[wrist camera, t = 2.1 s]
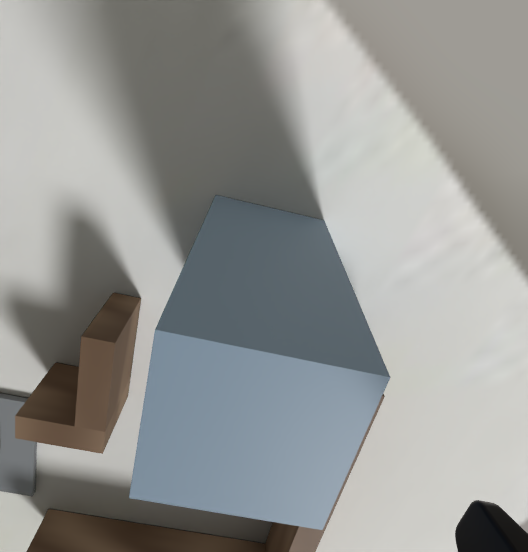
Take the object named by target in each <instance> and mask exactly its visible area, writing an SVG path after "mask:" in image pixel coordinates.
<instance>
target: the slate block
mask: <svg viewBox="0 0 528 552" xmlns="http://www.w3.org/2000/svg"><path fill="white" fill-rule="evenodd" d="M389 379H390V376H389V373H388V371H387V369H386V366H385V364H384V362H383V359H382V357H381V354H380V352H379V350H378V347H377V345H376V343H375V340H374V338H373V335H372V333H371V331H370V328H369V326H368V323H367V321H366V319H365V316H364V314H363V312H362V309H361V307H360V304H359V302H358V300H357V297H356V295H355V293H354V290H353V288H352V285H351V283H350V281H349V278H348V276H347V274H346V271H345V269H344V266H343V264H342V262H341V259H340V257H339V255H338V252H337V250H336V247H335V245H334V243H333V240H332V238H331V236H330V233H329V231H328V228H327V226H326V224H325V221H324V220H321V219H316V218H312V217H308V216H304V215H299V214H295V213H291V212H287V211H282V210H278V209H274V208H270V207H265V206H261V205H257V204H253V203H248V202H244V201H240V200H235V199H231V198H227V197H223V196H218V195H216V196H215V198H214V200H213V202H212V205H211V207H210V209H209V211H208V213H207V216H206V218H205V220H204V222H203V225H202V227H201V229H200V231H199V233H198V236H197V238H196V240H195V242H194V245H193V247H192V249H191V251H190V253H189V256H188V258H187V260H186V262H185V265H184V267H183V269H182V271H181V273H180V276H179V278H178V280H177V282H176V285H175V287H174V289H173V291H172V293H171V296H170V298H169V300H168V302H167V305H166V307H165V309H164V311H163V313H162V316H161V318H160V320H159V322H158V325H157V327H156V329H155V334H154V341H153V347H152V353H151V360H150V366H149V373H148V379H147V386H146V392H145V398H144V405H143V411H142V418H141V424H140V430H139V437H138V443H137V450H136V456H135V463H134V469H133V475H132V482H131V488H130V495H129V498H132V499H138V500H144V501H150V502H156V503H162V504H168V505H174V506H180V507H186V508H192V509H198V510H204V511H210V512H216V513H222V514H228V515H234V516H240V517H246V518H252V519H258V520H264V521H270V522H276V523H282V524H288V525H294V526H300V527H306V528H312V529H318V530H323V528H324V526H325V523H326V521H327V519H328V517H329V514H330V512H331V510H332V507H333V505H334V503H335V501H336V498H337V496H338V494H339V492H340V489H341V487H342V485H343V483H344V480H345V478H346V476H347V474H348V471H349V469H350V467H351V465H352V462H353V460H354V458H355V456H356V453H357V451H358V449H359V447H360V444H361V442H362V440H363V438H364V435H365V433H366V431H367V429H368V426H369V424H370V422H371V420H372V417H373V415H374V413H375V411H376V408H377V406H378V404H379V402H380V399H381V397H382V395H383V392H384V390H385V388H386V386H387V383H388V381H389Z"/></svg>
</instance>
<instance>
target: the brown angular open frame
mask: <svg viewBox="0 0 528 552" xmlns="http://www.w3.org/2000/svg"><path fill="white" fill-rule="evenodd" d="M140 303H141V298H137V297H132V296H127V295H123V294H118V293H113V294H112V295H111V296H110V298H109V299H108V300H107V302H106V303H105V305H104V306H103V307H102V309H101V310H100V311H99V313H98V314H97V315H96V317H95V318H94V320H93V321H92V322H91V324H90V325H89V326H88V328H87V329H86V331H85V332H84V333H83V335H82V336H81V346H80V360H79V367H76V366H71V365H65V364H60V363H55V364H54V365H53V366H52V368H51V369H50V370H49V371H48V373H47V374H46V375H45V377H44V378H43V379H42V381H41V382H40V383H39V385H38V386H37V387H36V389H35V390H34V391H33V393H32V394H31V395H30V397H29V398H28V399H27V401H26V402H25V403H24V405H23V406H22V407H21V409H20V410H19V411H18V412H17V414H16V415H15V438H16V439H22V440H28V441H33V442H39V443H45V444H51V445H56V446H62V447H68V448H74V449H79V450H85V451H91V452H96V453H102V454H103V452H104V449H105V447H106V445H107V443H108V440H109V438H110V436H111V433H112V431H113V429H114V427H115V424H116V422H117V420H118V418H119V415H120V413H121V411H122V409H123V406H124V404H125V402H126V400H127V397H128V391H129V384H130V377H131V369H132V362H133V354H134V347H135V340H136V332H137V325H138V318H139V310H140ZM383 399H384V394H383V395H382V397H381V399H380V402H379V404H378V406H377V408H376V411H375V413H374V415H373V417H372V420H371V422H370V424H369V426H368V429H367V431H366V433H365V435H364V438H363V440H362V442H361V444H360V447H359V449H358V451H357V453H356V456H355V458H354V460H353V462H352V465H351V467H350V469H349V471H348V474H347V476H346V478H345V480H344V483H343V485H342V487H341V489H340V492H339V494H338V496H337V498H336V501H335V503H334V505H333V507H332V510H331V512H330V514H329V517H328V519H327V521H326V523H325V526H324V528H323V530H318V529H312V528H306V527H300V526H294V525H288V524H282V523H276V522H273V523H272V526H271V529H270V532H269V534H268V537H267V540H266V543H265V544H263V543H257V542H251V541H245V540H239V539H232V538H226V537H220V536H214V535H207V534H201V533H195V532H189V531H183V530H176V529H170V528H164V527H158V526H152V525H145V524H139V523H133V522H127V521H120V520H114V519H108V518H102V517H96V516H89V515H83V514H77V513H71V512H64V511H58V510H52V509H48V511H47V513H46V515H45V517H44V519H43V521H42V523H41V525H40V527H39V529H38V530H37V532H36V534H35V536H34V538H33V540H32V542H31V544H30V546H29V548H28V550H27V552H315V551H316V549H317V547H318V544H319V542H320V540H321V538H322V536H323V533H324V531H325V529H326V527H327V524H328V522H329V520H330V518H331V515H332V513H333V511H334V509H335V506H336V504H337V502H338V500H339V497H340V495H341V493H342V491H343V488H344V486H345V484H346V482H347V479H348V477H349V475H350V473H351V470H352V468H353V466H354V464H355V462H356V459H357V457H358V455H359V453H360V450H361V448H362V446H363V444H364V441H365V439H366V437H367V435H368V432H369V430H370V428H371V426H372V423H373V421H374V419H375V417H376V414H377V412H378V410H379V408H380V405H381V403H382V401H383Z"/></svg>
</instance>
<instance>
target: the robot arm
mask: <svg viewBox="0 0 528 552" xmlns="http://www.w3.org/2000/svg"><path fill="white" fill-rule="evenodd" d="M0 448H1V441H0ZM455 537H456V544H457V549H458V552H528V533H526V532H525V531H524V530H523V529H522V528H521V527H520V526H519V525H518V524H517V523H516V522H515V521H514V520H513V519H512V518H511V517H510V516H509V515H508V514H507V513H506V512H505V511H504V510H503V509H502V508H500V507H499V506H498V505H496V504H494V503H490V502H485V501H479V500H476V501H474V502H472V503H471V504H470V506H469V507H468V509H467V511H466V512H465V514H464V515H463V517H462V519H461V520H460V522H459V523H458V525H457V527H456V533H455Z"/></svg>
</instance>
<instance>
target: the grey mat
mask: <svg viewBox="0 0 528 552" xmlns="http://www.w3.org/2000/svg"><path fill="white" fill-rule="evenodd" d="M27 399H28V398H24V397H18V396H13V395H7V394H2V393H0V441H1V448H0V491H3V492H10V493H16V494H22V495H28V496H33V495H34V493H35V483H36V446H37V442H33V441H28V440H22V439H16V438H15V415H16V414H17V412H18V411H19V410H20V409H21V407H22V406H23V405H24V403H25V402H26V401H27Z"/></svg>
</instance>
